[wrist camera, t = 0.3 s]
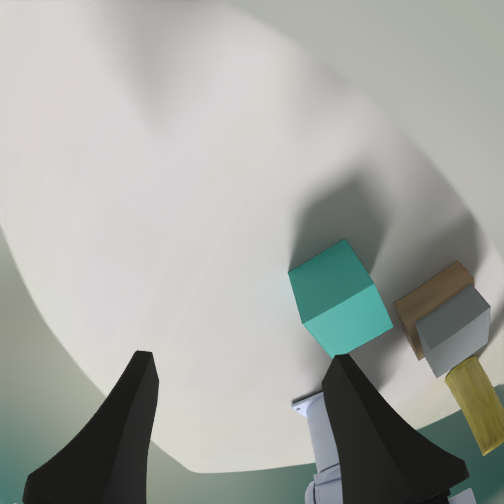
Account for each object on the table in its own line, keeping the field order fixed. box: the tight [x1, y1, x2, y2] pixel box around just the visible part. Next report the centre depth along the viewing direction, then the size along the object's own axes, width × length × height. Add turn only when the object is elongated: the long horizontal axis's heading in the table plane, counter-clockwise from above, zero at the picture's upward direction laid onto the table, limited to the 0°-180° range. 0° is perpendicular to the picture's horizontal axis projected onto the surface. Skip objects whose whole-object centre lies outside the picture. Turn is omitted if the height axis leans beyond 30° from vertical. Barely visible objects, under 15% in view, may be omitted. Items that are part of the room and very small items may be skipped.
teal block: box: [288, 239, 393, 359], centre depth 18 cm, size 4×4×5 cm
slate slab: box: [415, 284, 491, 378], centre depth 20 cm, size 6×6×3 cm
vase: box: [445, 356, 504, 455], centre depth 26 cm, size 6×6×14 cm
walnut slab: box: [394, 261, 474, 360], centre depth 22 cm, size 7×7×3 cm
